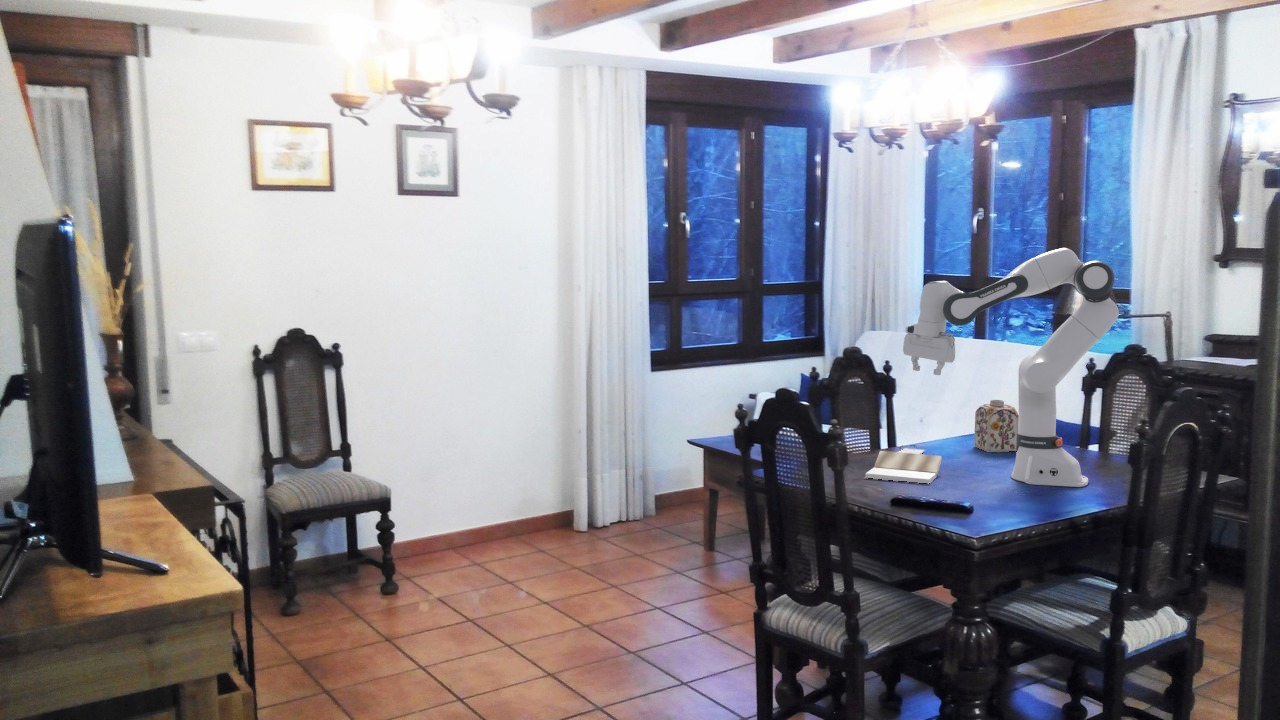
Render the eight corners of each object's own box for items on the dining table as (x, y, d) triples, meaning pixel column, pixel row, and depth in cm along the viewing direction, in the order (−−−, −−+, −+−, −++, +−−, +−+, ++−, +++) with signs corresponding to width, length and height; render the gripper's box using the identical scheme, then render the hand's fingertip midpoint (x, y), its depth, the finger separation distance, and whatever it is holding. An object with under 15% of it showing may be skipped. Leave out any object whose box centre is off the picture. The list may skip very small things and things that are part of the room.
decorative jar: (973, 447, 379) (974, 398, 377) (1003, 446, 380) (1005, 397, 379) (987, 453, 367) (989, 403, 366) (1019, 452, 369) (1020, 402, 367)
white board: (936, 478, 328) (936, 473, 327) (929, 484, 319) (929, 479, 319) (873, 472, 337) (873, 467, 337) (865, 478, 328) (865, 473, 328)
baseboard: (873, 466, 349) (902, 469, 344) (873, 458, 348) (903, 461, 344) (897, 451, 375) (925, 453, 370) (897, 443, 375) (925, 446, 370)
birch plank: (941, 459, 334) (941, 455, 333) (936, 476, 329) (936, 472, 328) (880, 454, 344) (880, 450, 343) (874, 470, 338) (874, 466, 337)
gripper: (962, 334, 327) (957, 377, 328) (916, 327, 344) (911, 368, 346) (947, 333, 323) (942, 377, 325) (902, 326, 341) (897, 368, 343)
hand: (926, 372), depth 336 cm, fingers open, 8 cm apart
